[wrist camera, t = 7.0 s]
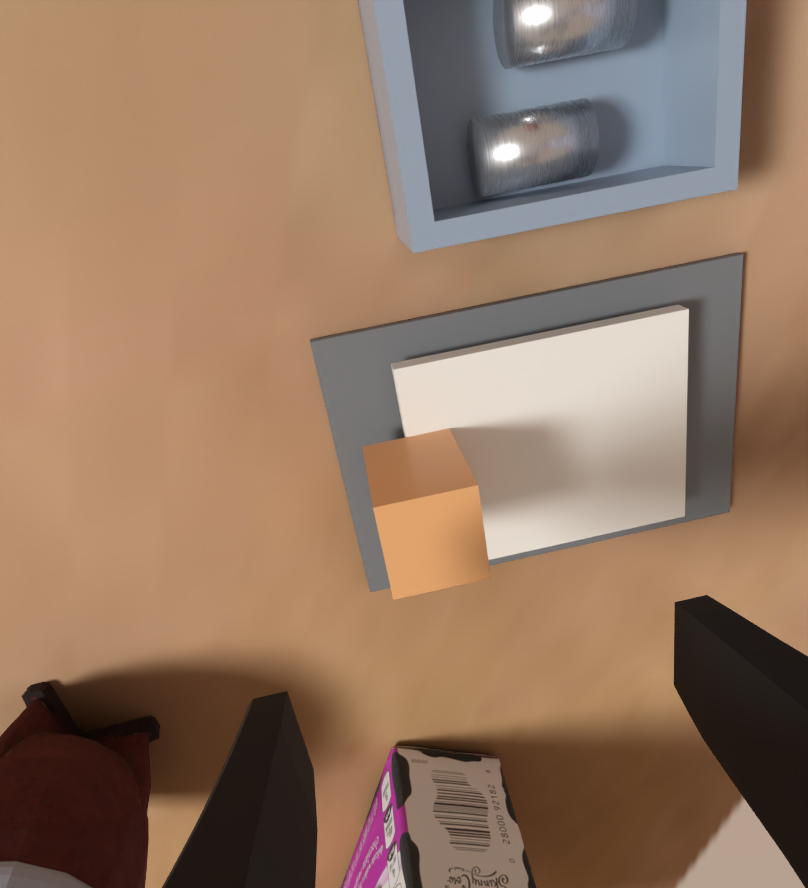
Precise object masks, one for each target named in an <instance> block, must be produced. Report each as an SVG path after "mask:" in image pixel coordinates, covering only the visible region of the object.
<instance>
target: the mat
mask: <svg viewBox="0 0 808 888" xmlns="http://www.w3.org/2000/svg"><path fill="white" fill-rule="evenodd" d="M742 271H743V254H740V253H734V254H729V255H724V256H719V257H714V258H710V259H705V260H700V261H695V262H690V263H685V264H680V265H675V266H670V267H665V268H660V269H655V270H650V271H645V272H640V273H636V274H631V275H626V276H621V277H616V278H611V279H606V280H601V281H596V282H591V283H586V284H581V285H576V286H571V287H567V288H562V289H557V290H552V291H547V292H542V293H537V294H532V295H527V296H522V297H517V298H512V299H507V300H502V301H497V302H493V303H488V304H483V305H478V306H473V307H468V308H463V309H458V310H453V311H448V312H443V313H438V314H433V315H428V316H424V317H419V318H414V319H409V320H404V321H399V322H394V323H389V324H384V325H379V326H374V327H369V328H364V329H359V330H354V331H350V332H345V333H340V334H335V335H330V336H325V337H320V338H315V339H310V343H311V347H312V351H313V355H314V360H315V364H316V368H317V372H318V376H319V381H320V385H321V389H322V393H323V397H324V401H325V406H326V410H327V414H328V418H329V422H330V426H331V431H332V435H333V439H334V443H335V447H336V451H337V456H338V460H339V464H340V468H341V472H342V477H343V481H344V485H345V489H346V493H347V497H348V502H349V506H350V510H351V514H352V518H353V522H354V527H355V531H356V535H357V539H358V543H359V547H360V552H361V556H362V560H363V564H364V568H365V573H366V577H367V581H368V585H369V589H370V592H373V591H378V590H382V589H387V588H391V587H390V582H389V578H388V573H387V569H386V564H385V560H384V555H383V551H382V546H381V542H380V537H379V533H378V528H377V524H376V519H375V514H374V510H373V505H372V499H371V494H370V488H369V482H368V477H367V471H366V465H365V460H364V454H363V449H362V447H363V446H368V445H372V444H377V443H382V442H387V441H391V440H396V439H401V438H405V437H404V431H403V426H402V421H401V415H400V410H399V404H398V399H397V394H396V388H395V383H394V378H393V372H392V367H391V363H396V362H401V361H405V360H410V359H415V358H420V357H425V356H430V355H435V354H440V353H444V352H449V351H454V350H459V349H464V348H469V347H474V346H478V345H483V344H488V343H493V342H498V341H503V340H508V339H513V338H517V337H522V336H527V335H532V334H537V333H542V332H547V331H551V330H556V329H561V328H566V327H571V326H576V325H581V324H586V323H590V322H595V321H600V320H605V319H610V318H615V317H620V316H624V315H629V314H634V313H639V312H644V311H649V310H654V309H659V308H663V307H668V306H673V305H681V306H683V307H685V308H688V309H689V331H688V382H687V434H686V485H685V516H684V517H680V518H675V519H671V520H666V521H662V522H657V523H653V524H648V525H644V526H639V527H635V528H630V529H626V530H621V531H617V532H612V533H608V534H603V535H599V536H594V537H590V538H585V539H581V540H576V541H572V542H567V543H563V544H558V545H554V546H549V547H545V548H540V549H536V550H531V551H527V552H522V553H518V554H513V555H509V556H504V557H500V558H495V559H491V560H489V566H490V565H494V564H499V563H503V562H508V561H512V560H517V559H521V558H526V557H530V556H535V555H539V554H544V553H548V552H553V551H557V550H562V549H566V548H571V547H575V546H579V545H584V544H588V543H593V542H597V541H602V540H606V539H611V538H615V537H620V536H624V535H629V534H633V533H638V532H642V531H647V530H651V529H656V528H660V527H665V526H669V525H674V524H678V523H683V522H687V521H691V520H696V519H700V518H705V517H709V516H714V515H718V514H723V513H727V512H730V496H731V477H732V458H733V440H734V421H735V402H736V383H737V365H738V346H739V327H740V309H741V290H742Z"/></svg>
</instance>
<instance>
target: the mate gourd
mask: <svg viewBox="0 0 808 888" xmlns="http://www.w3.org/2000/svg"><path fill="white" fill-rule="evenodd" d="M22 698H23V700H24V702H25V704H26V706H27V708H26V709H25V710H24V711H23V712H22V713H21V715H20V716H19V717H18V718H17V719H16V720H15V721H14V722H13V723H12V724H11V725H10V726H9V727H8V728H7V730H6V731H5V732H4V733H3V734H2V735H1V737H0V888H145V880H146V870H147V854H148V817H147V809H148V802H149V795H150V788H151V777H150V759H149V742H151V741H154V740H156V739H159V730H160V725H159V724H158V722H157V720H156V718H154V717H153V716H149V717H144V718H139V719H135V720H132V721H128V722H124V723H120V724H117V725H113V726H109V727H105V728H102V729H97V730H93V731H89V732H84V731H81V730H80V729H79V728H78V726H77V725H76V724H75V722H74V721H73V719H72V718H71V716H70V715H69V713H68V711H67V710H66V708H65V707H64V705H63V703H62V702H61V700H60V699H59V697H58V695H57V694H56V692H55V691H54V689H53V688H52V687H51V685H50V684H49V683H46V682H42V683H38V684H34V685H31V686H29V687H28V688H27V691H26V692H25V693H24V694H23V695H22Z"/></svg>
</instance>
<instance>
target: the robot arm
mask: <svg viewBox="0 0 808 888" xmlns="http://www.w3.org/2000/svg"><path fill="white" fill-rule="evenodd" d="M674 686H675V688H676V690H677V692H678V693H679V695H680V697H681V699H682V701H683V703H684V705H685V707H686V709H687V711H688V713H689V714H690V716H691V718H692V720H693V722H694V723H695V725H696V727H697V729H698V731H699V732H700V734H701V736H702V738H703V739H704V741H705V742H706V744H707V745H708V747H709V748H710V750H711V751H712V753H713V754H714V755H715V757H716V758H717V760H718V761H719V763H720V764H721V766H722V767H723V768H724V770H725V771H726V773H727V774H728V776H729V777H730V779H731V780H732V781H733V783H734V784H735V786H736V787H737V789H738V790H739V791H740V793H741V794H742V796H743V797H744V799H745V800H746V801H747V803H748V804H749V806H750V807H751V808H752V810H753V811H754V812H755V814H756V816H757V817H758V818H759V820H760V821H761V823H762V824H763V826H764V827H765V828H766V830H767V831H768V833H769V834H770V836H771V837H772V839H773V840H774V841H775V843H776V844H777V845H778V847H779V848H780V850H781V851H782V853H783V854H784V856H785V857H786V859H787V860H788V861H789V863H790V865H791V866H792V868H793V869H794V871H795V872H796V874H797V875H798V877H799V879H800V880H801V881H802V883H803V885H804V886H805V888H808V656H806V655H804V654H803V653H801V652H799V651H798V650H796V649H794V648H793V647H791V646H789V645H788V644H786V643H784V642H783V641H781V640H779V639H778V638H776V637H774V636H773V635H771V634H769V633H768V632H766V631H765V630H763V629H761V628H760V627H758V626H756V625H755V624H753V623H752V622H750V621H748V620H747V619H745V618H744V617H742V616H740V615H739V614H737V613H736V612H734V611H732V610H731V609H729V608H727V607H726V606H724V605H723V604H721V603H719V602H718V601H716V600H714V599H713V598H711V597H709V596H707V595H705V596H701V597H696V598H692V599H687V600H683V601H679V602H675V634H674ZM316 852H317V816H316V799H315V784H314V770H313V767H312V764H311V761H310V758H309V755H308V752H307V749H306V746H305V743H304V740H303V737H302V734H301V731H300V728H299V725H298V722H297V719H296V716H295V713H294V710H293V707H292V704H291V701H290V698H289V695H288V692H287V691H286V692H281V693H277V694H273V695H268V696H264V697H260V698H255V699H253V700H252V702H251V703H250V704H249V706H248V709H247V711H246V714H245V716H244V719H243V721H242V724H241V726H240V729H239V731H238V734H237V736H236V739H235V741H234V743H233V746H232V748H231V750H230V753H229V755H228V757H227V760H226V762H225V764H224V766H223V769H222V771H221V773H220V775H219V777H218V780H217V782H216V784H215V786H214V788H213V790H212V792H211V794H210V796H209V799H208V801H207V803H206V805H205V807H204V809H203V811H202V813H201V815H200V817H199V819H198V821H197V823H196V825H195V827H194V829H193V831H192V833H191V835H190V837H189V839H188V841H187V842H186V844H185V846H184V848H183V850H182V852H181V854H180V856H179V857H178V859H177V861H176V863H175V865H174V867H173V869H172V871H171V873H170V874H169V876H168V878H167V880H166V881H165V883H164V885H163V887H162V888H315V877H316Z"/></svg>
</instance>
